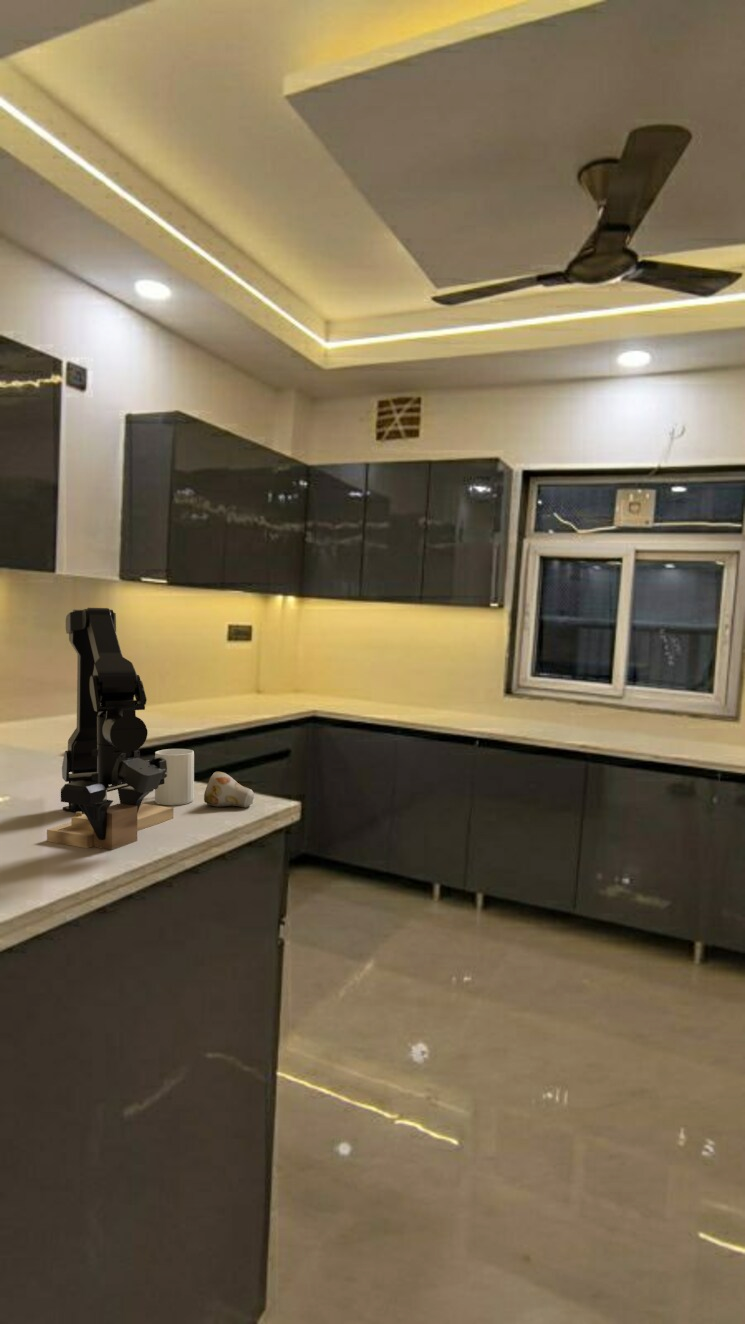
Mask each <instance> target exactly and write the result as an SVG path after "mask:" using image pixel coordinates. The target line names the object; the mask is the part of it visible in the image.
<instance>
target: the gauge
mask: <svg viewBox="0 0 745 1324" xmlns="http://www.w3.org/2000/svg"><path fill="white" fill-rule="evenodd" d="M70 820H71V822H70V823H71V827H72V828H79V829H85V830H91V831H93V844H94V846H93V848H98V849H99V848H100V849H103V850H110V851H111V850H112V851H113V850H115V849H118V848H121V847H123V846H126V845H129V844H131V843H132V844H133V843H135V842H137V841H138V831H137V806H135V805H127V804H120V802H119V803H115V804H111V805H110V806H109V807H108V809H107V821H106V835H105V839H104V840H99V839H98V837H97V836H96V834H95V832H94V830H93V828H92V826H91V824H90V822H89V820H88V818H87V817H86V815H85V813H82V812H75V815H74V816H71V818H70Z"/></svg>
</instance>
